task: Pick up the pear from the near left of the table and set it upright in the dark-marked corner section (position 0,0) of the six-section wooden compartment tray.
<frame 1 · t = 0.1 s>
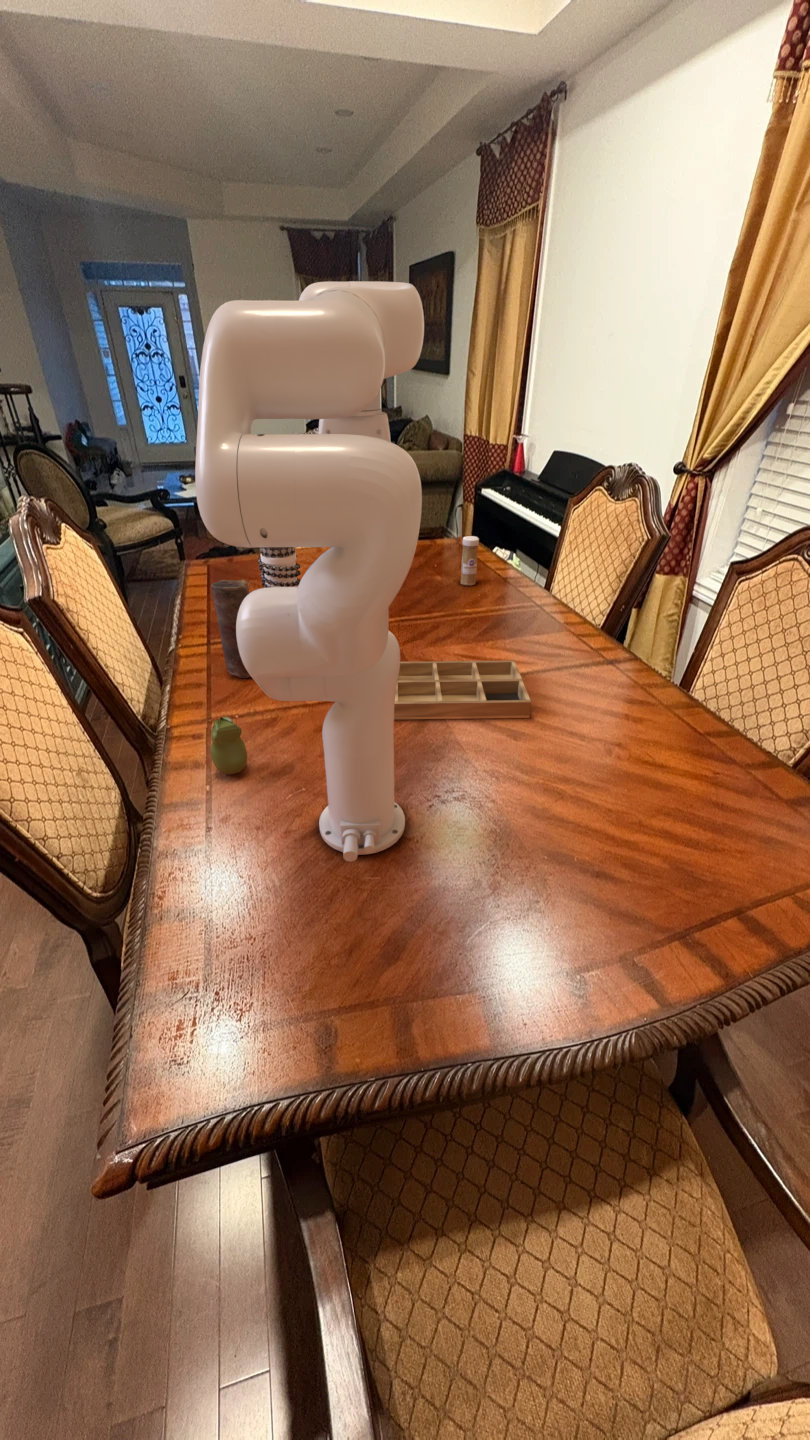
hand: (358, 530, 90), 37 cm above the table, tool pointing down, fingers open, 9 cm apart
pear: (232, 771, 101), on the table
sprinkles bottle: (468, 584, 179), on the table
decorative candle: (287, 638, 146), on the table
wooden compartment tray: (457, 695, 122), on the table
candle: (244, 671, 131), on the table
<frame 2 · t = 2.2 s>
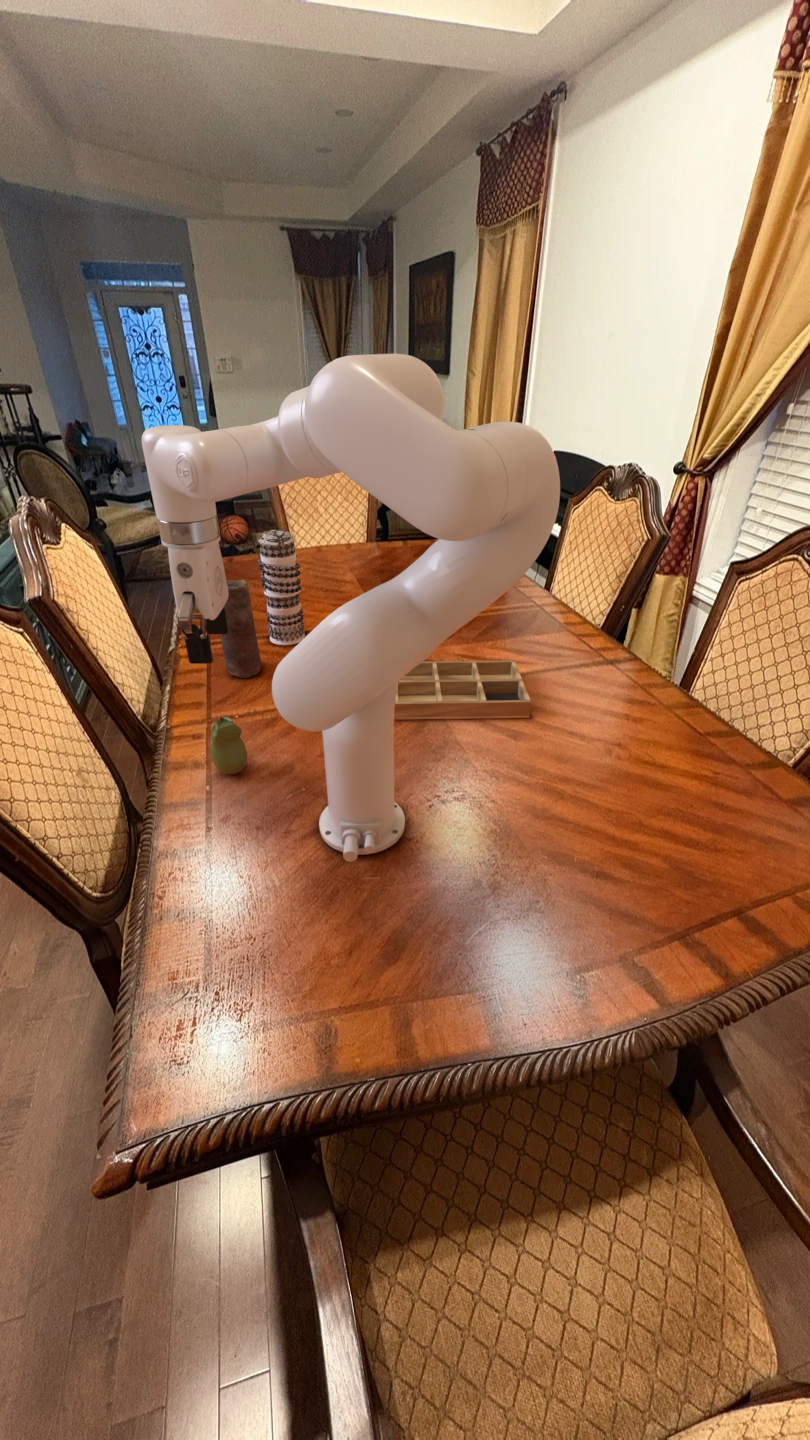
hand: (209, 647, 89), 22 cm above the table, tool pointing down, fingers open, 9 cm apart
nothing on the table moved.
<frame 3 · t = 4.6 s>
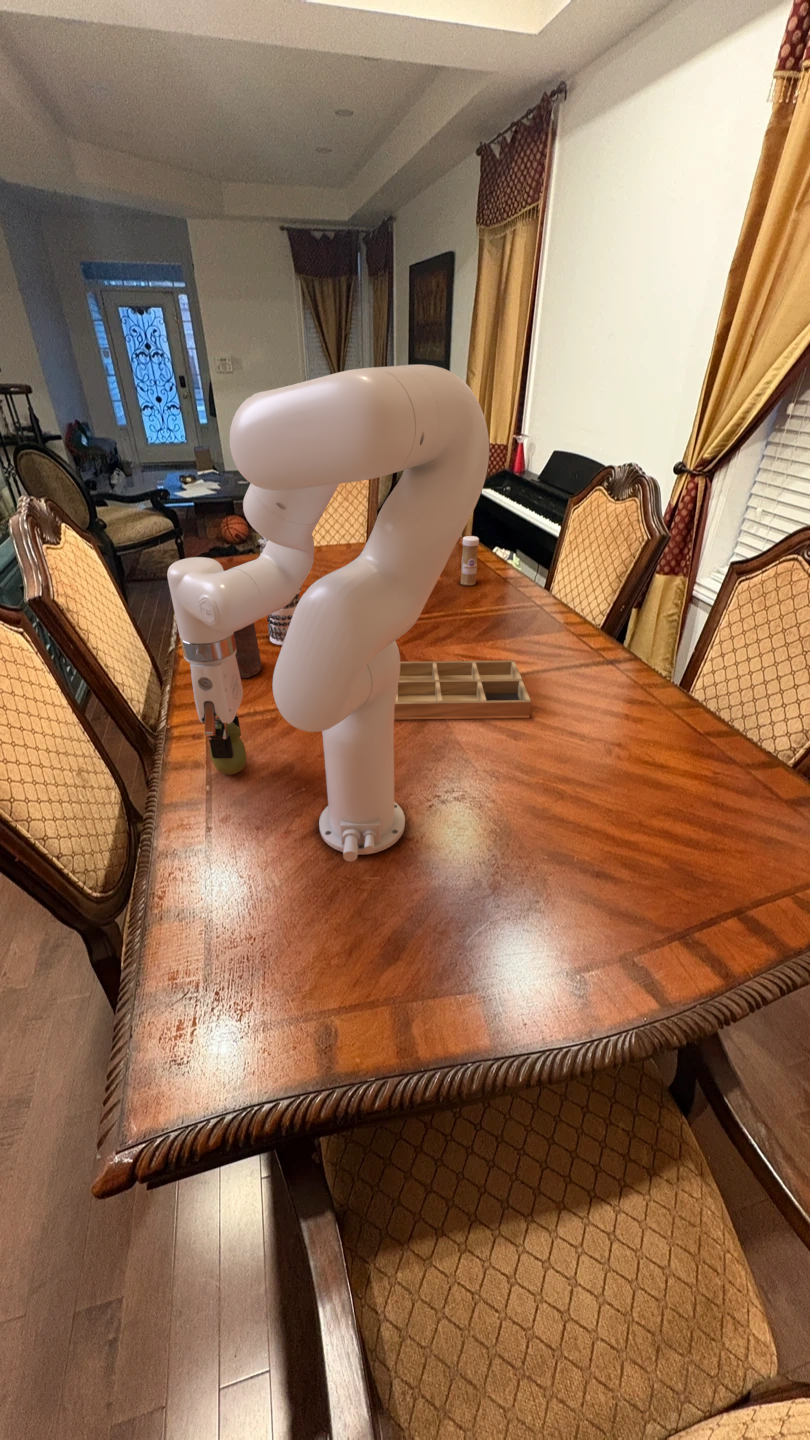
hand: (227, 745, 98), 5 cm above the table, tool pointing down, fingers closed on pear, 5 cm apart
pear: (232, 771, 101), on the table, touching gripper
everything else where it was.
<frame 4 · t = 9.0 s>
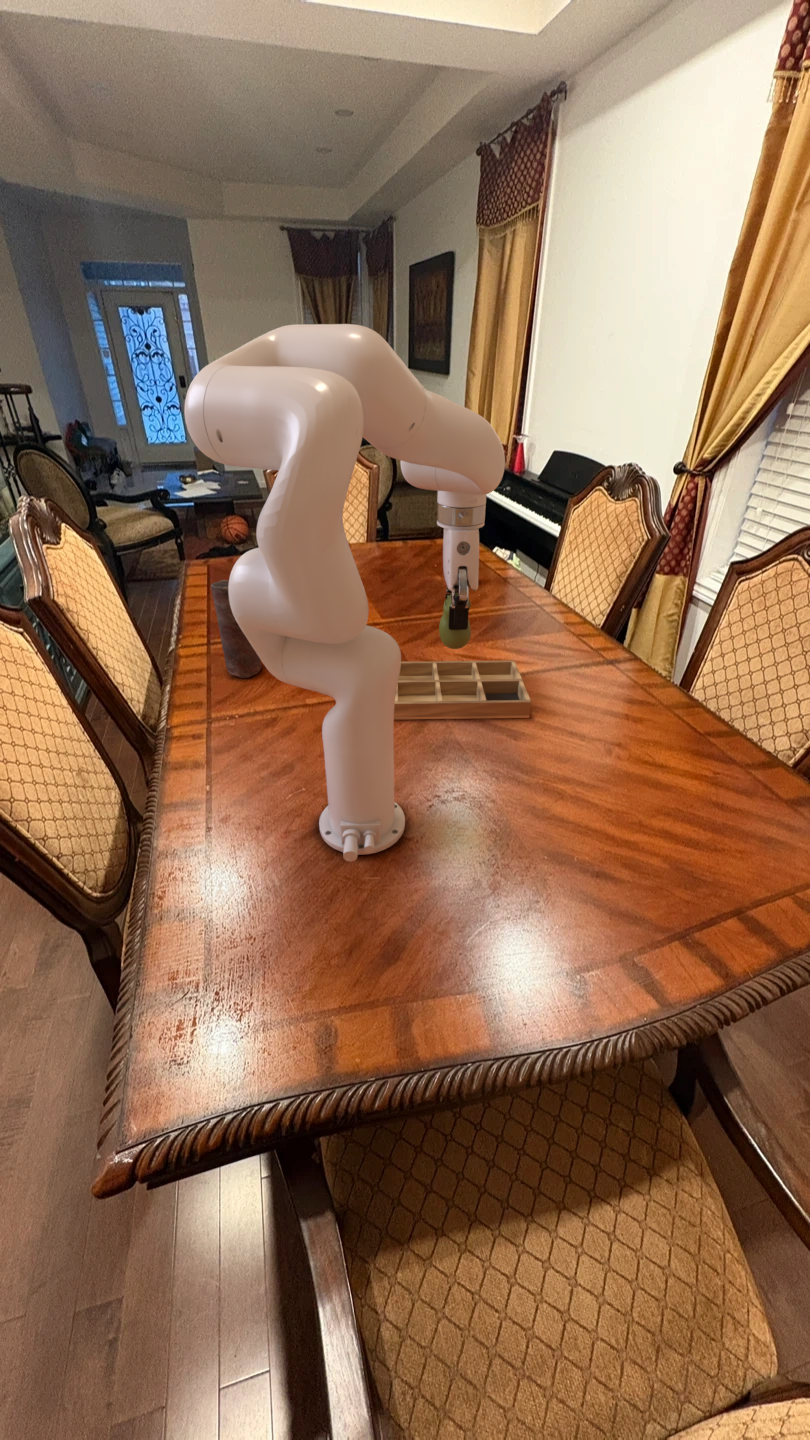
hand: (456, 621, 105), 20 cm above the table, tool pointing down, fingers closed on pear, 5 cm apart
pear: (454, 648, 107), point 15 cm above the table, touching gripper
everything else where it was.
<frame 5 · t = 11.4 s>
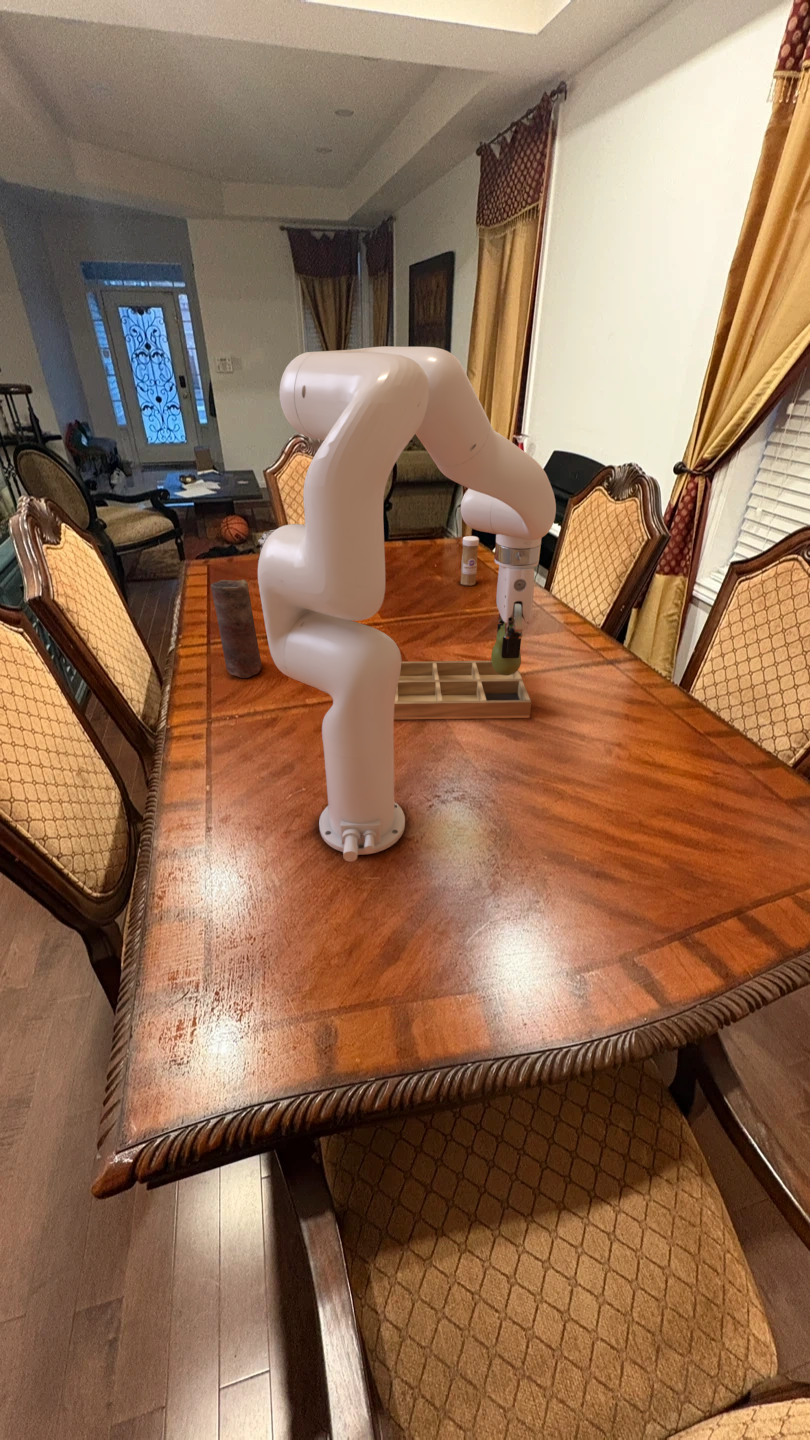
hand: (507, 649, 113), 12 cm above the table, tool pointing down, fingers closed on pear, 5 cm apart
pear: (505, 674, 115), point 7 cm above the table, touching gripper
everything else where it was.
when the fingers open (6 cm above the table, at t = 13.3 s): pear stays where it is, resting on wooden compartment tray.
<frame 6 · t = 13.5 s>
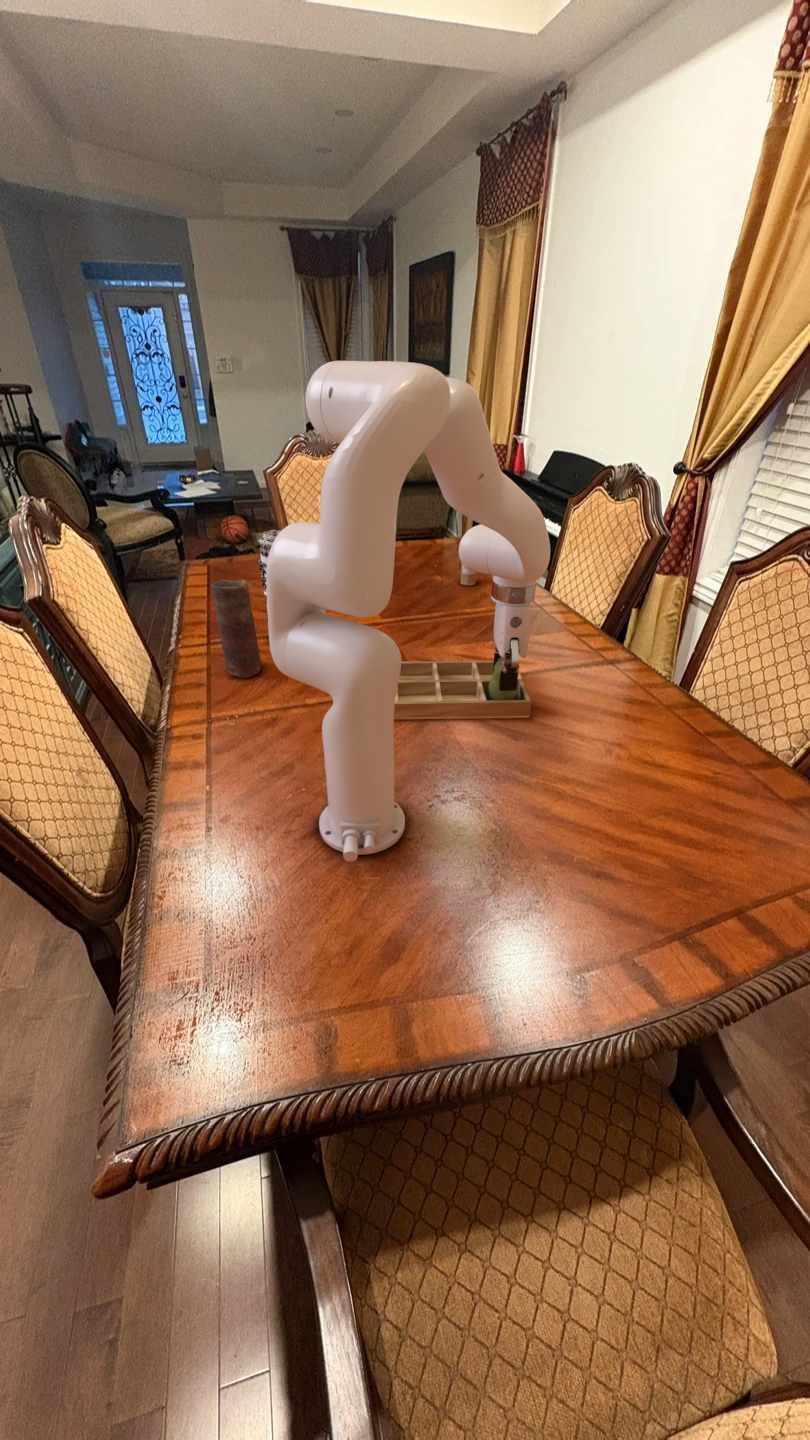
hand: (504, 680, 116), 6 cm above the table, tool pointing down, fingers open, 6 cm apart
pear: (502, 704, 119), point 1 cm above the table, touching wooden compartment tray
everything else where it was.
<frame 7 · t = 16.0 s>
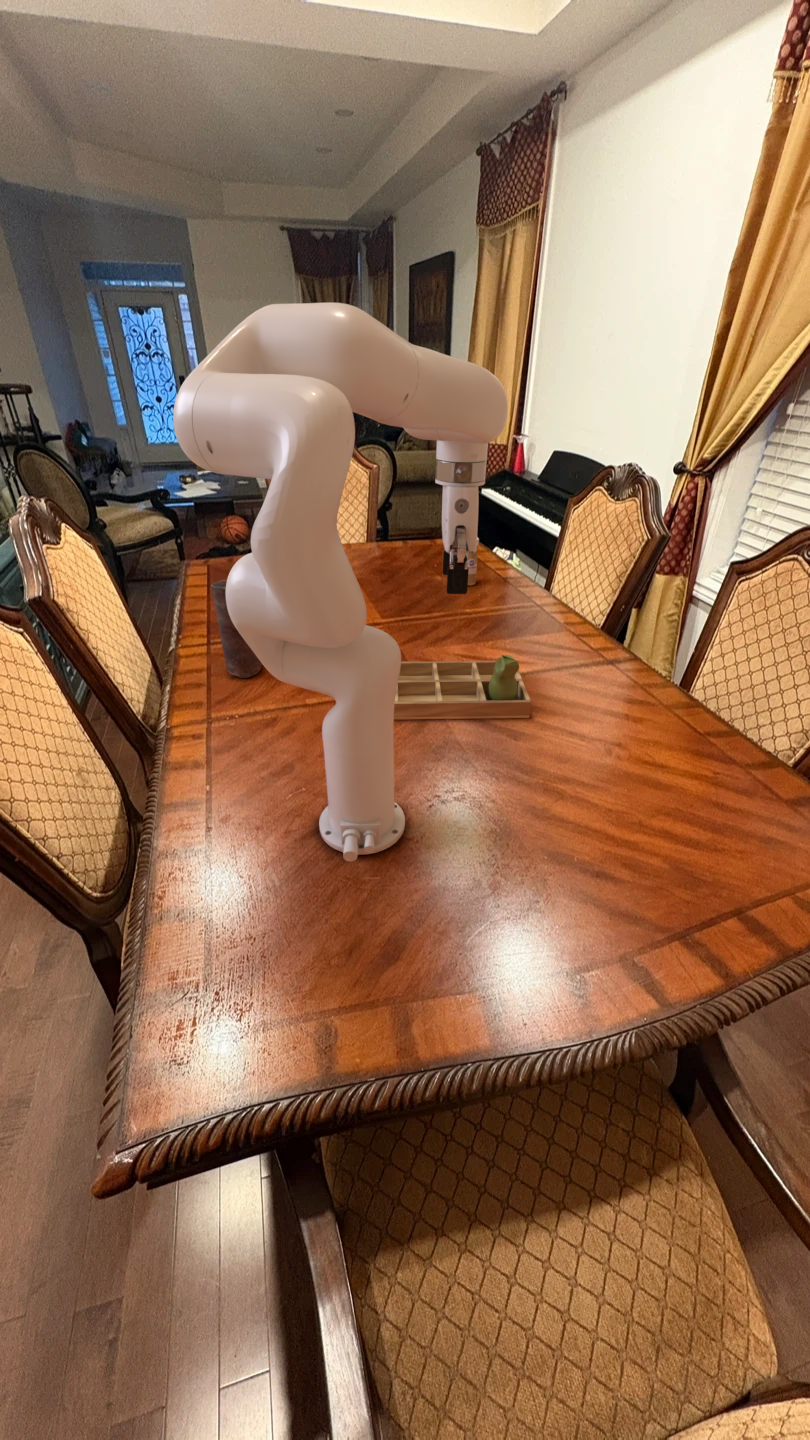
hand: (454, 583, 100), 27 cm above the table, tool pointing down, fingers open, 9 cm apart
nothing on the table moved.
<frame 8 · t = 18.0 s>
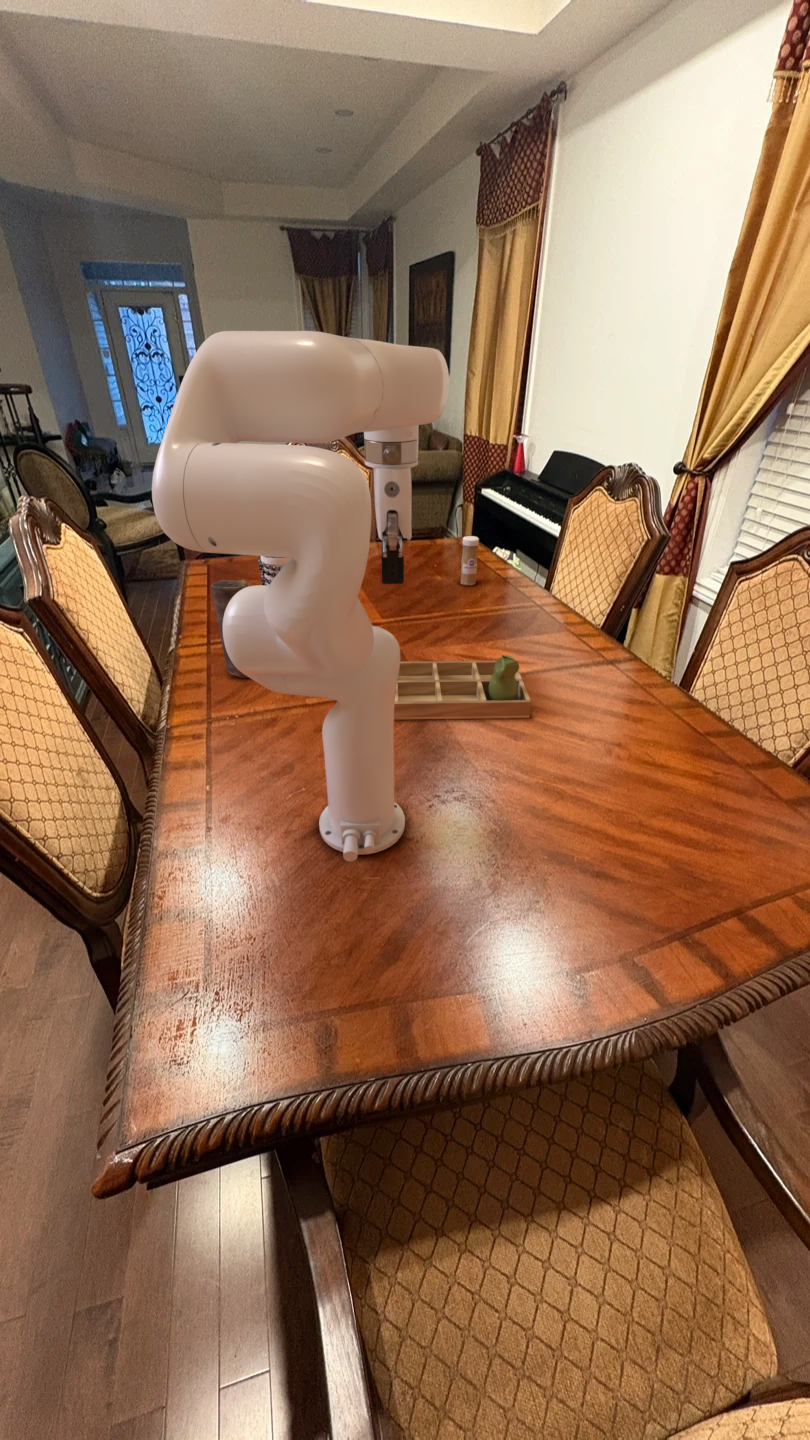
hand: (392, 572, 94), 30 cm above the table, tool pointing down, fingers open, 9 cm apart
nothing on the table moved.
at the end: pear 0.2 cm from the target spot in the wooden compartment tray, point 0.5 cm above the wooden compartment tray's base; pear tilted 0°; the gripper is holding nothing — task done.
